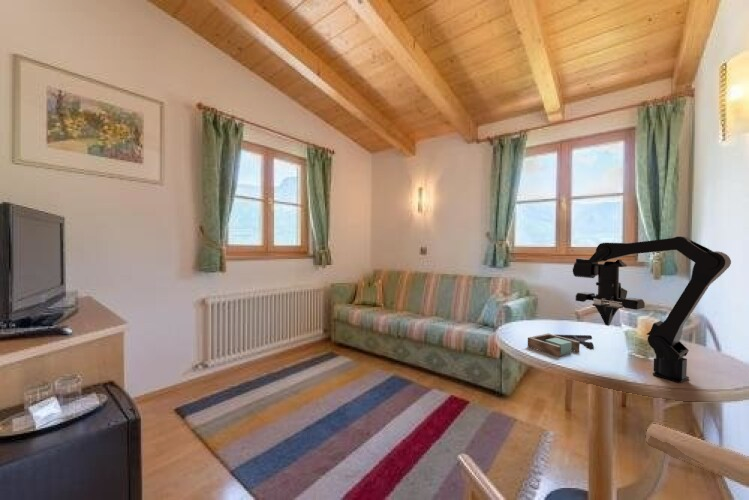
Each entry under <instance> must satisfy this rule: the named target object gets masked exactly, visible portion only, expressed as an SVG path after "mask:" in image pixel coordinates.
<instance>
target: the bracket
mask: <svg viewBox="0 0 749 500" xmlns="http://www.w3.org/2000/svg"><path fill="white" fill-rule="evenodd" d="M555 335H556V336H560V337H564V338H567V339H571V340H575V341H578V342H580V344H581V345H583V346H585V347H586V348H587V349H590V350H592V349H595V346H594V343H593V342H591V341H587V340H592V339H593V337H592V335H590V334H589V335H585V334H584V335H583V334H555Z"/></svg>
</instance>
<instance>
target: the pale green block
mask: <svg viewBox="0 0 749 500" xmlns="http://www.w3.org/2000/svg"><path fill="white" fill-rule="evenodd" d="M546 342H548V343H551V344H554V345H558V346H561V354H560V356H562V354H563V355H566V354H571V353H572V350H571V346H572V342H570V341H566V340H563V339H559V338H552V339H547V340H546ZM570 352H571V353H570Z"/></svg>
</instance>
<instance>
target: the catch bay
mask: <svg viewBox="0 0 749 500" xmlns="http://www.w3.org/2000/svg"><path fill="white" fill-rule="evenodd" d="M556 335H557V334H551V333H549V332H548V333H543V334H538V335H533V336H530V337H527V347H528V346H529V347H528V348H530V347H532V348H531V349H533V348H535V349H534V350H536V349H538V350H537V351H539V350H540V351H539V352H542V351H543V353H545V352H546V353H545V354H548V353H549V354H548V355H551V354H552V355H551V356H554V355H555V357H557V356H558V357H557V358H560V357H561V355H560V354H561V346H558V345H554V344H551V343H548V342H546V340H547V339H552V338H559V339H563V340H566V341H570V342H572V346H571V351H573V352H576V353H577V352H580V347H581V346H580V344H581V343H580V342H578V341H575V340H571V339H572V338H571V339H567V338H564V337H560V336H556Z"/></svg>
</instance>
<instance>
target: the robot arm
mask: <svg viewBox="0 0 749 500" xmlns="http://www.w3.org/2000/svg"><path fill="white" fill-rule="evenodd" d="M667 251H677V252H679V253H680V254H682V255H683V256H684V257H686V258H687V259H688V260H689V261H692V262H694V265H693V267H692V270H691V277H690V280H689V282H688V283H687V284H686V286H685V288H684V290H683V292H682V293H681V294H680V295H679V298H678V299H677V300H676V303H675V304H674V306H673V308H672V309H671V311H669V314H668V315H667V317H666V318H665V320H664V321H662V320H659V321H656V322H653V324H652V326H651V329H650V331H648V332H647V333H646V335H647V344H649V346H650V348H652V349H653V352H654V354H655V357H654V358H653V372H652V375H653V376H655V377H658V378H663V379H664V380H665V379H666V380H669V381H673V382H676V383H682V382H684V381H687V380H689V379H690V377H689V376H687V371H688V370H687V369H688V368H687V367H688V358H684V357H686V356H687V355H688V354H689V349H688V348H687V347H686V346H685V345H684V344H683V343H682V342H681V341H680V340H681V338H682V334H683V329H684V326H685V323H687V321H688V319H689V317H691V314H692V313H693V312H694V310H695V308H696V307H697V305H698V304H699V302H700V301H701V299H702V298H703V296H704V294H705V293H706V292H707V290H708V288H709V287H710V286H711V285H712V284H713V283H714V282H715V281H716V280H718V279H719V277H721V276H722V275H723V274H724V273H725V272H726V271H727V270H728V269H729V267H730V266H731V264H732V260H731V258H730V256H729V255H728V254H727V253H724V252H722V251H717V250H716V251H715V250H714V251H713V250H712V249H710V248H709V247H706V246H704V245H702V244H700V243H697V242H696V241H693V240H692V239H690V237H687V236H675V237H669V238H661V239H652V240H643V241H636V242H601V243H599V244H598V245H597V246H596V248H595V252H594V253H593V254H592V255H591V257H590V258H581V257H580V258H575V263H574V264H573V267H572V274H573V277H576V278H587V279H595V277H597V282H595V285H596V286H597V294H595V293H594V292H587V291H582V292H577V293H576V294H575V301H576V302H586V301H592V302H593V303H592V306H594V307H595V308H596V310H597V312H598V313H599V315H600V317H601V320H602V321H603V323H604V325H605V326H607V327H609V326H610V325H611V323H612V321H613V319H614V317H615V314H616V313H617V312H618V310H619V309H623V308H624V309H629V310H641V309H645V308H646V307H645V306H646V305H645V304H646V303H645V300H643V299H642V298H636V297H627V296H628V290H626V289H625V288H624V287H622V284H621V282H620V278H619V277H620V268H626V267H627V266H628V265H627V264H626V263H625V262H624V261H623V260H622V259H620V258H624V257H628V256H631V255H636V254H647V253H657V252H659V253H660V252H667ZM609 260H610V261H609ZM611 260H612V261H611ZM613 260H615V261H613ZM603 262H604V263H603Z"/></svg>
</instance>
